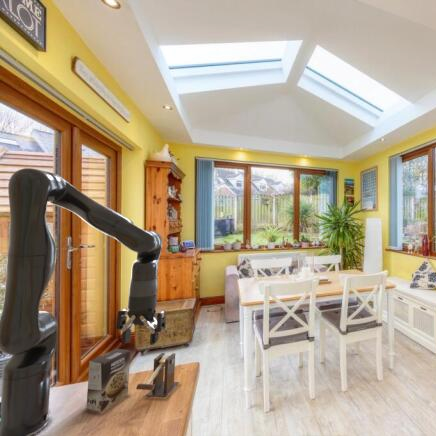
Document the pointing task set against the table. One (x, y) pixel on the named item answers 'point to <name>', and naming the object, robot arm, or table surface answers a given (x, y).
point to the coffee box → (108, 379)
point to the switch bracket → (168, 384)
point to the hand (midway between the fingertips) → (140, 343)
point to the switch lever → (153, 376)
